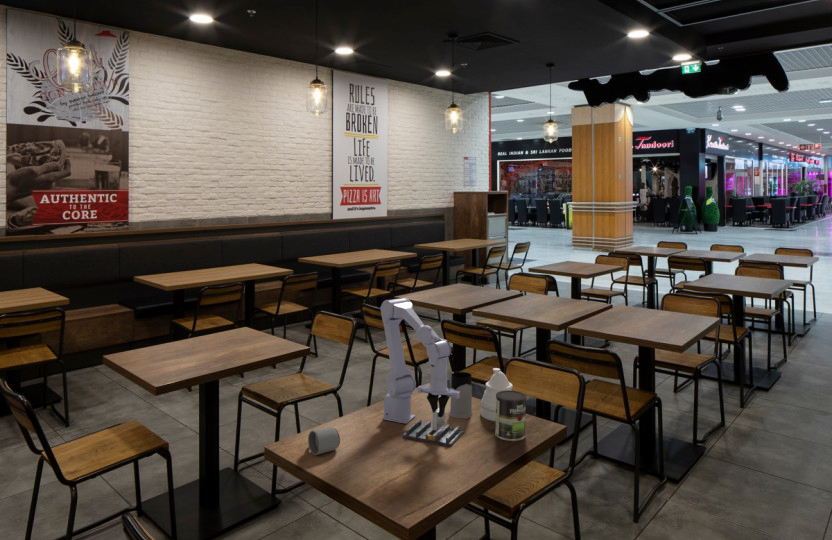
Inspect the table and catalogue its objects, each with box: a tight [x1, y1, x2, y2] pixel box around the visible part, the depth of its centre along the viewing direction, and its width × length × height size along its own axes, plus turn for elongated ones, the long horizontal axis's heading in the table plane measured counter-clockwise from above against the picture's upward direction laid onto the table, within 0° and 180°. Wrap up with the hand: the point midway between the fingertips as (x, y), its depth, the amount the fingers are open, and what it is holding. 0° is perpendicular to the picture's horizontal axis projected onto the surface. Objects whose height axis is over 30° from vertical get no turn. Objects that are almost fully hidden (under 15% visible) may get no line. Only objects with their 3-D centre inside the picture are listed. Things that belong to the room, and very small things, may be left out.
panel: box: [431, 407, 446, 431], centre depth 194 cm, size 2×7×6 cm, turn 155°
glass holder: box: [449, 371, 473, 419], centre depth 217 cm, size 9×14×15 cm, turn 21°
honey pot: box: [480, 367, 514, 422], centre depth 213 cm, size 13×13×18 cm
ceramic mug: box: [307, 426, 341, 456], centre depth 184 cm, size 11×8×8 cm
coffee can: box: [494, 390, 527, 442], centre depth 195 cm, size 10×10×14 cm
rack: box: [402, 418, 464, 447], centre depth 195 cm, size 17×12×2 cm
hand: (438, 415), depth 194 cm, fingers closed on panel, 2 cm apart
